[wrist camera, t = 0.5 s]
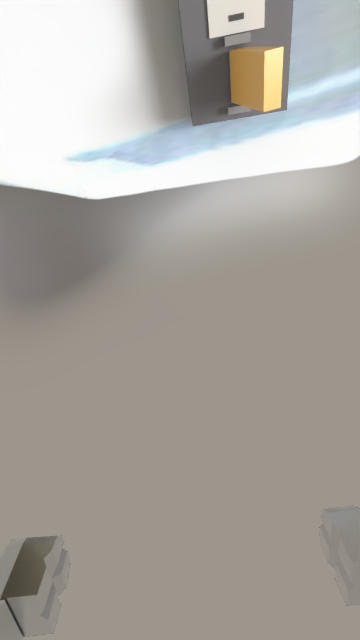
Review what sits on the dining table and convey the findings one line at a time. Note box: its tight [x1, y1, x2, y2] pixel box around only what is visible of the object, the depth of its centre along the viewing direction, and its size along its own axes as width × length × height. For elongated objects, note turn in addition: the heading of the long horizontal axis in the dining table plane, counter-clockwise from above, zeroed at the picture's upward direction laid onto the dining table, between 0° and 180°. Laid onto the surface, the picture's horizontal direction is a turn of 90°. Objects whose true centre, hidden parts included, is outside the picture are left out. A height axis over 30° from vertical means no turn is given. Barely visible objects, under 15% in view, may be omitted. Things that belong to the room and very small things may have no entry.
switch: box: [229, 46, 284, 112], centre depth 35 cm, size 5×2×8 cm, turn 9°
